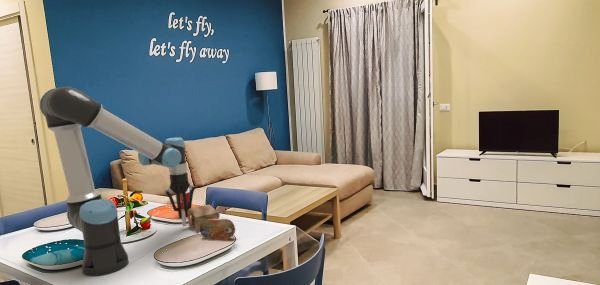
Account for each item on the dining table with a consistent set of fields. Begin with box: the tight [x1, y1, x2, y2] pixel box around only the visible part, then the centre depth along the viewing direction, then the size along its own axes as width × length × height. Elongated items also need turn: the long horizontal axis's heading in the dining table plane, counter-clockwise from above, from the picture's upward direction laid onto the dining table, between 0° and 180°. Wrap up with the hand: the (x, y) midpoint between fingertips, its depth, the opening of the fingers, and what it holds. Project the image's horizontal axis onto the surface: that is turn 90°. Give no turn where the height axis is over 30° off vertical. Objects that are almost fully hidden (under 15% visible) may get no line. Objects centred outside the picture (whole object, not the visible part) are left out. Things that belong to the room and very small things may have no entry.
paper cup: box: [174, 188, 190, 214], centre depth 200 cm, size 8×8×14 cm
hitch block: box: [188, 204, 220, 233], centre depth 186 cm, size 10×16×7 cm, turn 26°
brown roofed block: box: [186, 210, 221, 227], centre depth 186 cm, size 14×5×5 cm, turn 116°
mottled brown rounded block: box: [199, 218, 236, 241], centre depth 167 cm, size 15×3×8 cm, turn 73°
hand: (184, 224), depth 182 cm, fingers closed
